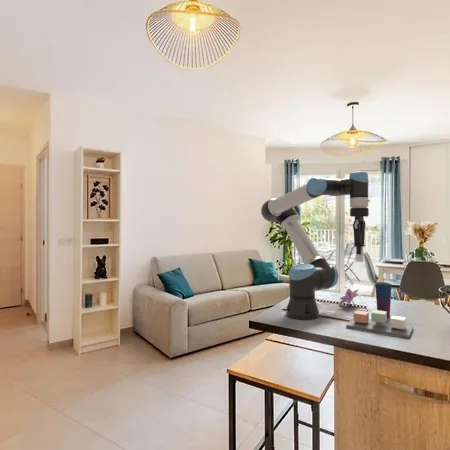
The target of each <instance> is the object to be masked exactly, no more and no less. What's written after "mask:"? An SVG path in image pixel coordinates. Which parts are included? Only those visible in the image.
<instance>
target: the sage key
mask: <svg viewBox="0 0 450 450" xmlns="http://www.w3.org/2000/svg"><path fill="white" fill-rule="evenodd" d="M370 317H371V318H370V319H371V321H374V322H380V323H385V322H388V321H387V320H388V318H387V311H379V310H377V309H373V310H372V311H371V315H370Z"/></svg>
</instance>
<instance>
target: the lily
mask: <svg viewBox="0 0 450 450" xmlns="http://www.w3.org/2000/svg"><path fill="white" fill-rule="evenodd" d="M358 291H359V288H358V289H355V290H351V288H347V289H346V292H345V294H344V296H341V297H339V300H340V302H339V303H338V305H339V306H340V305H342V304H344V303H347V304H348V305H350V304H351V303H352V304H353V306H354V307H355V309H357V306H356V305H355V303H354V298H356V297H359V296H360V295H359V294H358ZM349 303H350V304H349Z"/></svg>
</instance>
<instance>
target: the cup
mask: <svg viewBox="0 0 450 450" xmlns="http://www.w3.org/2000/svg"><path fill="white" fill-rule="evenodd" d="M374 286H375V296H376V299H375V300H376V310H379V311H387V319H388V318H391V303H392V302H391V299H392V298H391V297H392V287H393V286H392V283H390V282H383V281H379V282H375V284H374Z"/></svg>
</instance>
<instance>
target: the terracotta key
mask: <svg viewBox="0 0 450 450" xmlns="http://www.w3.org/2000/svg"><path fill="white" fill-rule="evenodd" d="M352 315H353V317H352V318H354V322H360V323H367V322H368V321H369V319H370V313H369V311H364V310H363V311H362V310H357V309H356V310H355V311H354V312H353V314H352Z"/></svg>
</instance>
